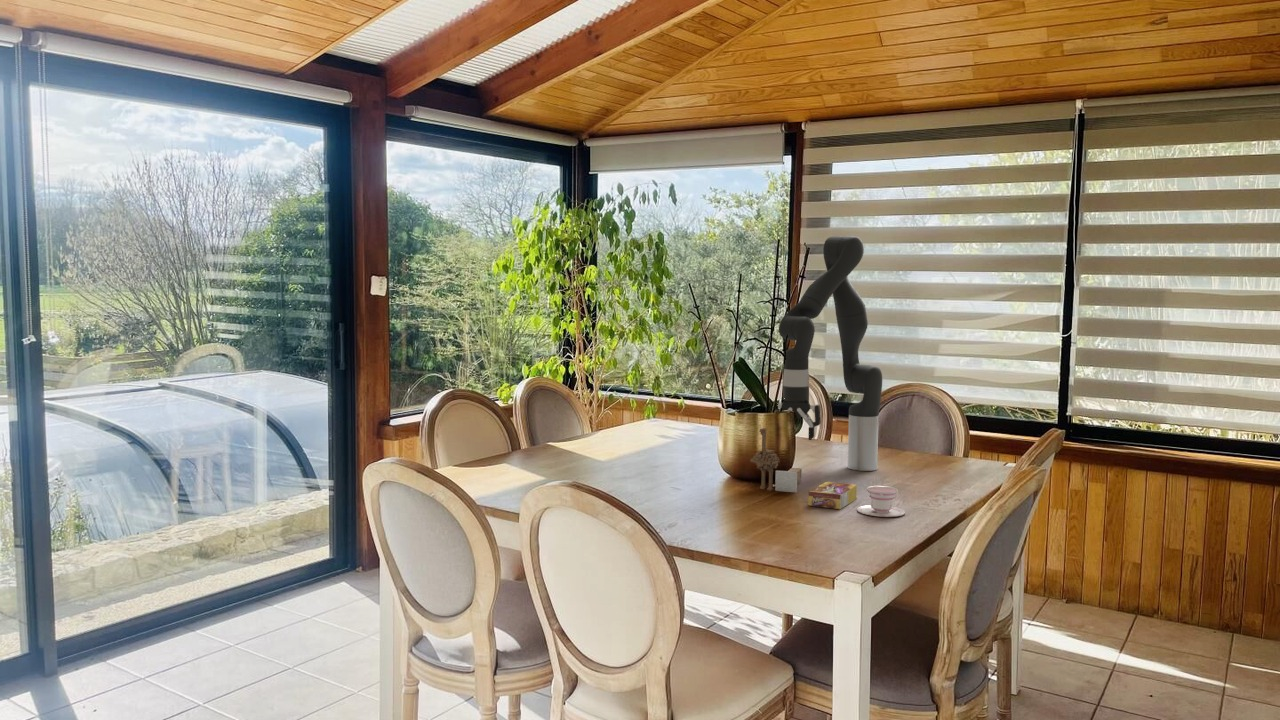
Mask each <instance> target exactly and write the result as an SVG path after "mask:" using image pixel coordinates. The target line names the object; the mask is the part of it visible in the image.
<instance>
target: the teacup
mask: <svg viewBox="0 0 1280 720" xmlns="http://www.w3.org/2000/svg"><path fill="white" fill-rule="evenodd" d="M898 490H899V489H897V488H895V487H893V486H889V485H888V486H887V485H871V486H867V488H866V492H867V493H868V494H869V498H870V502H871V503H870V504H868V505H861V506H858V507H857V508H856V511H857V512H858V513H860V514H863V515H867V516H872V517H880V518H893V517H894V518H895V517H901V516H904V515H905V513H906V511H905V510H904V509H902V508H900V507H895V506H893V504H894V503H893V501H894V499H895V498H896V497H895V496H896V495H897V494H898V492H899V491H898ZM873 511H874V512H873Z"/></svg>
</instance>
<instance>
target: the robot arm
mask: <svg viewBox="0 0 1280 720" xmlns="http://www.w3.org/2000/svg"><path fill="white" fill-rule="evenodd" d="M822 250H823V251H822V253H823V259H824V264H825V267H826V268H825V269H826V272H825V273H823V274H822V275H820V277H818V278H817V279H815V280H814V281H813V282H812V283H810V284H809V286H808V287H807V289H806V290H805V291H804V293H803V295H802V297H801V298H800V299H799V301H798V302H797V303H796V304H795V305H794V306H793V307H792V308H791V309H789V310H788V312H787V313H785V315H784V316H782V318H781V320H780V322H779V326H778V333H779V335H780V337H781V338H782V339H783V340H786V336H787V335H788V338H787V340H786V341H795V342H794V343H795V344H794V346H793V347H792V348H788V349H786V350H785V351H786V360H785V364H784V363H783V375H782V379H783V380H782V386H783V387H782V391H783V392H782V393H783V394H782V403H777V404H778V405H777V406H778V409H780V410H781V409H782V411H783V410H791V411H794V412H795V413H796V415H797V418H798V419H797V420H802V419H803V421H804V422H805V423H806V424H807V425H808V441H812V440H813V439H814V438H815V429H816V428H815V427H817V426H818V427H819V426H820V425H821V424H822V419H821V417H822V416H821V405H820V404H815V405H814V404H813V405H812V404H811V403H810V373H809V362H810V361H809V360H810V359H809V355H810V351H811V348H812V344H813V340H814V337H815V332H816V331H815V329H816V328H815V325H814V321H813V319H816V318H817V317H819V315H820V314H821V312H822V311H823V309H824V308H825V306H826V305H827V302H828V301H829V299H830V298H831V296H833V302H834V308H835V317H836V323H837V327H838V334H839V339H840V341H839V342H840V346H841V355H842V368H843V373H842V375H843V381H844V385H845V388H846V390H847V391H848V392H849V393H852V394H861V395H863V397H862V400H861V401H859V402H857V403H854V404H851V405H849V408H848V438H847V439H848V440H847V441H848V442H847V445H848V446H847V468H848V470H853V471H861V472H865V471H866V472H871V471H872V472H873V471H877V470H878V455H879V454H878V452H879V450H878V445H879V444H878V443H879V442H878V441H879V415H880V414H879V411H880V409H881V403H882V392H883V390H882V389H883V372H882V370H881V369H880V367H878V366H877V365H870V364H860V359H859V348H860V345H861V343H862V342H863V341H862V340H863V339H864V337H865V334H866V332H867V330H868V326H869V325H868V324H869V321H868V315H867V308H866V304H865V302H864V300H863V298H862V297H861V295H860V294H859V292H858V291H857V290H856V289H855V287H854V286H853V284H852V283H851V281H850V279H849V277H848V276H849V275H850V274H851V273H852V272H853V271H854V269H855V268H856V267H857V266H858V265H859V263H860V262H861V260H862V259H863V256H864V253H865V247H864V242H863V241H862V239H861V238H860V237H858V236H855V235H834V236H829V237H827V238H826V239H825V241H824V243H823V248H822ZM784 398H785V399H784ZM783 400H784V401H783ZM810 410H811V411H812V413H814V421H813V420H812V418H811V416H810V414H809V412H810ZM801 417H802V419H801Z"/></svg>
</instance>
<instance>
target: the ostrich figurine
mask: <svg viewBox="0 0 1280 720" xmlns="http://www.w3.org/2000/svg"><path fill="white" fill-rule="evenodd" d="M759 433H760V435H761V450H758V452H756V453H755V455H753V458H751V459H749V460H750V461H749V462H750V463H755V465H756V469H759V470H760V471H761V480H760V481H761V484H760V486H759V490H765V489H766V491H769V492H770V491H773V487H775V484H773V483H774V469H778V466H779V464H780V458H779V456H778V454H777V453H775V450H772V449H766V448H767V428H765V427H763V428H760V429H759ZM766 472H768V487H767V488H766V475H767V474H766Z"/></svg>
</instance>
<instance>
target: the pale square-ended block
mask: <svg viewBox="0 0 1280 720" xmlns="http://www.w3.org/2000/svg"><path fill="white" fill-rule="evenodd" d="M802 470H803V469H802V468H795V467H791V468H790V469H788V470H775V481H774V482H775V483H774V485H775V486H774V487H775V489H774V490H775V492H784V493H785V492H786V493H796V494H797V493H798V486H799V485H800V484H801V482H802Z"/></svg>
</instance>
